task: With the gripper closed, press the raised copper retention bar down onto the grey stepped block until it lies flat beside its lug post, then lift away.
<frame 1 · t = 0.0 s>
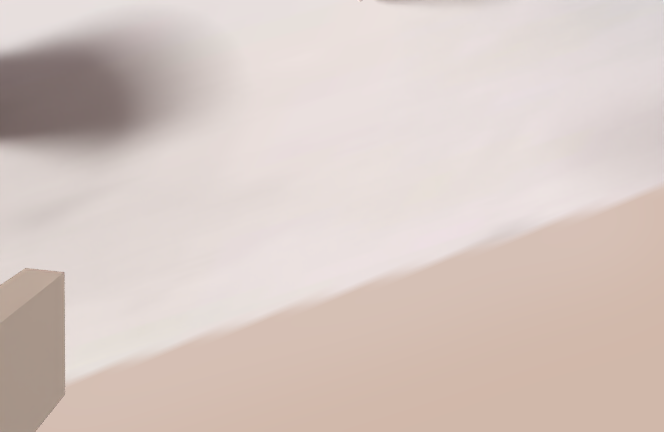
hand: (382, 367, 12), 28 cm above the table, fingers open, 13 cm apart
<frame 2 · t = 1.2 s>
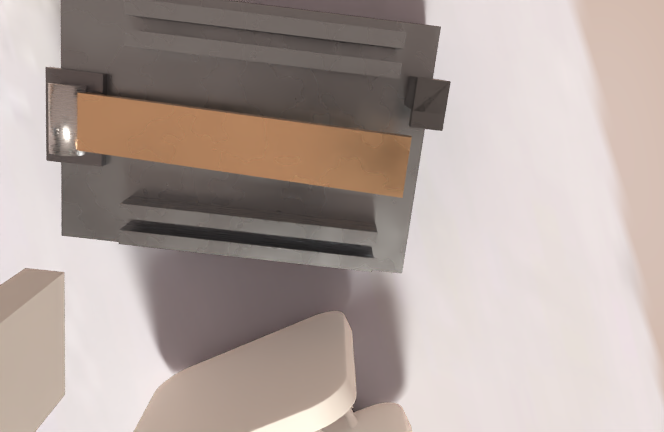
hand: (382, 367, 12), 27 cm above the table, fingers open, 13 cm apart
strap: (223, 141, 30), point 8 cm above the table, hinge at 8.3°, touching grey stepped block
grey stepped block: (254, 126, 37), on the table
cable organizer: (287, 392, 43), on the table
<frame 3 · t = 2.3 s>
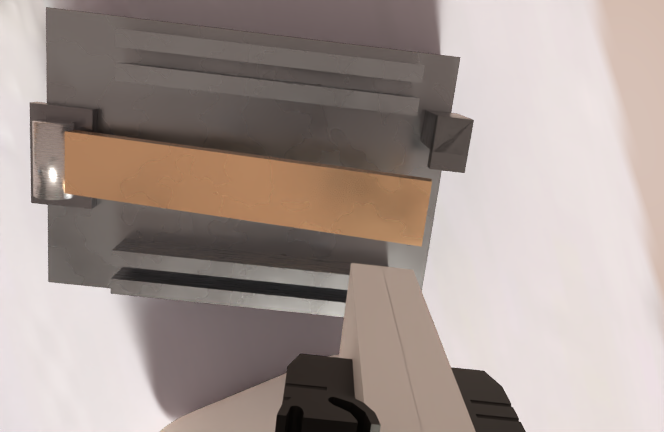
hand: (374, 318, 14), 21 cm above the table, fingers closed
strap: (224, 183, 27), point 8 cm above the table, hinge at 8.3°, touching grey stepped block
grey stepped block: (256, 159, 35), on the table
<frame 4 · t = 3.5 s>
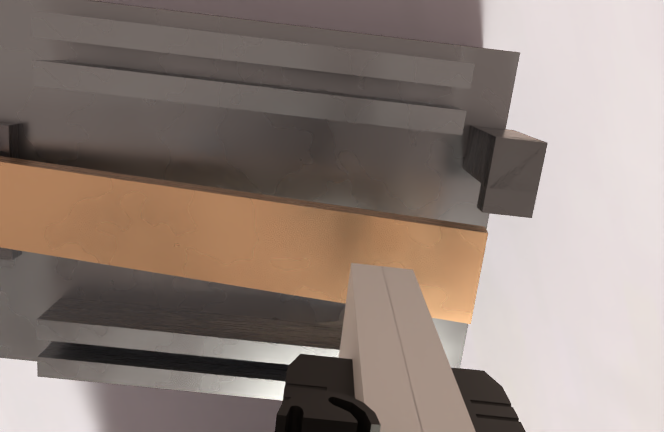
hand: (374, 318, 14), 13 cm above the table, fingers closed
strap: (190, 230, 19), point 8 cm above the table, hinge at 8.3°, touching grey stepped block
grey stepped block: (241, 185, 27), on the table
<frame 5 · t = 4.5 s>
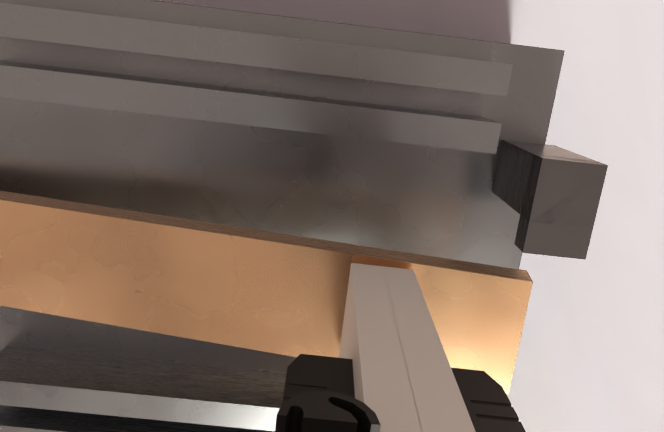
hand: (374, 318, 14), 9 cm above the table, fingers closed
strap: (155, 273, 15), point 8 cm above the table, hinge at 8.3°, touching gripper, grey stepped block
grey stepped block: (226, 206, 23), on the table
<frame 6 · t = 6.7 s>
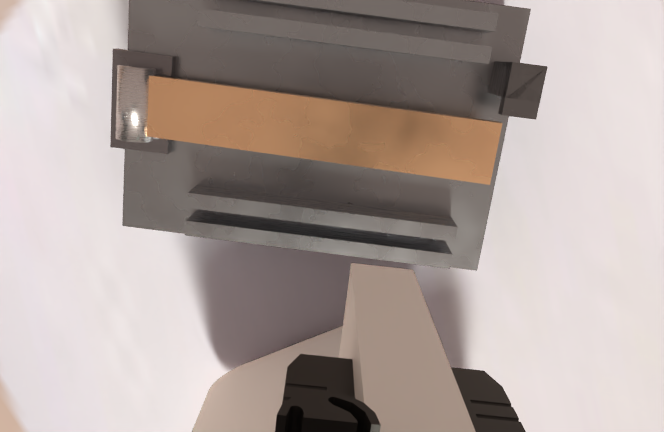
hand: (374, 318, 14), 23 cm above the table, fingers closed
strap: (303, 126, 29), point 7 cm above the table, hinge at 4.1°, touching grey stepped block
grey stepped block: (319, 114, 36), on the table
cable organizer: (343, 391, 41), on the table
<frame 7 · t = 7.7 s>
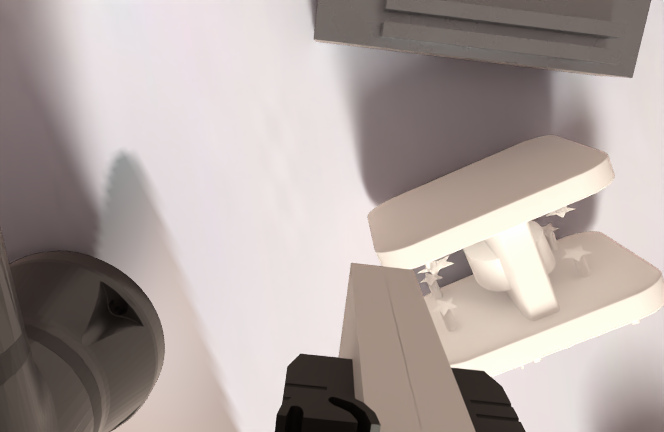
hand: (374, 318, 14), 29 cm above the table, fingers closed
cable organizer: (481, 227, 44), on the table
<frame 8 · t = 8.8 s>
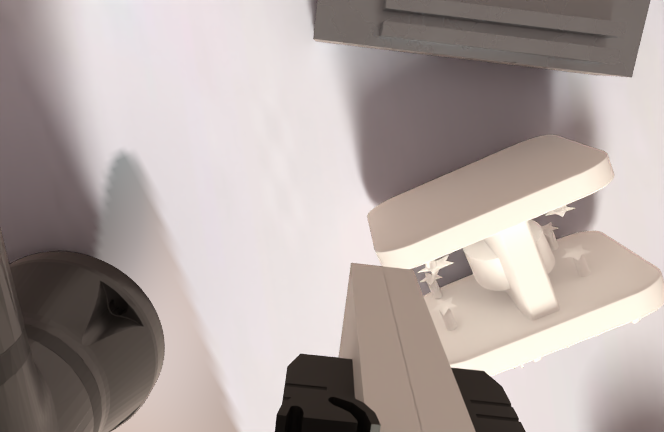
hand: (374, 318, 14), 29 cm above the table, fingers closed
cable organizer: (481, 226, 44), on the table
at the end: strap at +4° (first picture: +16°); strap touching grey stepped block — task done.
